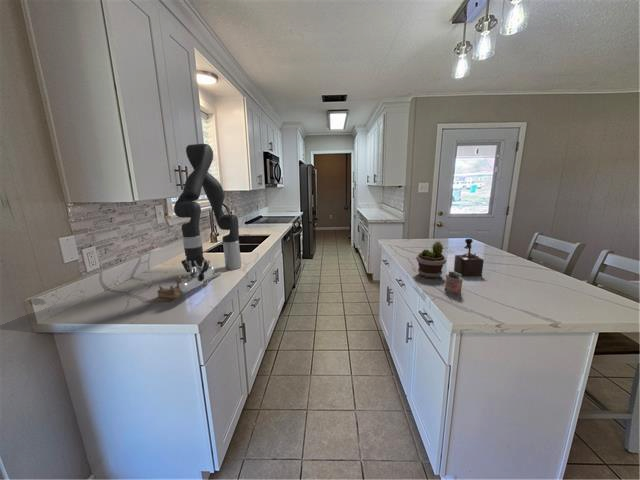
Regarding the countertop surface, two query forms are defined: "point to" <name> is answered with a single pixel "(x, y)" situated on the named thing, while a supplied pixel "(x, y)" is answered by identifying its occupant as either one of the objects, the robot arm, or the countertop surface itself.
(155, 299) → the tool rest
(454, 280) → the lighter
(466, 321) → the countertop surface
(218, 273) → the caliper
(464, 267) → the brown box with post
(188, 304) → the countertop surface
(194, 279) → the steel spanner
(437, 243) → the flowerpot
